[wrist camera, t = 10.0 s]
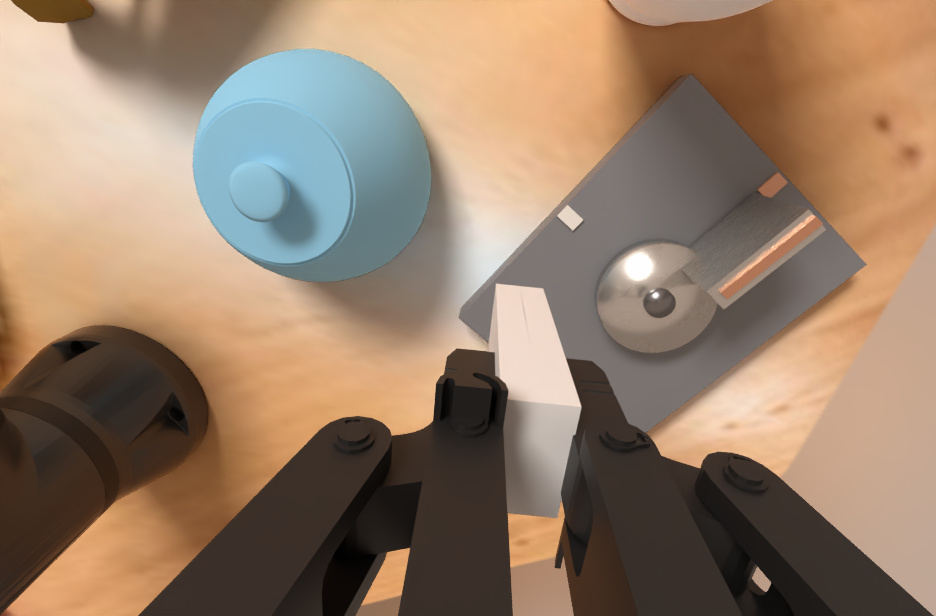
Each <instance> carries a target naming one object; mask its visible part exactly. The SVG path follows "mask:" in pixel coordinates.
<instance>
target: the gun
mask: <svg viewBox="0 0 936 616" xmlns="http://www.w3.org/2000/svg"><path fill="white" fill-rule="evenodd" d="M11 1H12V2H13V3H14V4H15V5H16V6H17V7H19V8H20V9H22V10H23V11H24V12H26V13H27V14H28V15H30V16H31V17H33V18H34V19H35V20H37V21H38V22H52V23H66V22H69V21H72V20H77V19H84V18H89V17H92V15H93V11H94V8H93V7H92V6H91V4H90V3H89V2H88V1H87V0H11Z"/></svg>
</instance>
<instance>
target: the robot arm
mask: <svg viewBox="0 0 936 616" xmlns="http://www.w3.org/2000/svg"><path fill="white" fill-rule="evenodd" d="M207 423H208V412H207V405H206V401H205V398H204V395H203V393H202V390H201V388H200V386H199V384H198V383H197V381H196V379H195V378H194V376H193V375H192V373H191V372H190V371H189V369H188V368H187V367H186V366H185V365H184V364H183V363H182V362H181V361H180V359H178V358H177V357H176V356H175V355H174V354H173V353H172V352H170V351H169V350H168V349H166V348H165V347H164V346H162V345H161V344H159V343H158V342H156V341H154V340H152V339H151V338H149V337H147V336H145V335H142V334H140V333H137V332H135V331H132V330H128V329H125V328H121V327H115V326H90V327H85V328H81V329H78V330H76V331H73V332H71V333H69V334H67V335H65V336H63V337H61V338H59V339H57V340H55V341H53V342H52V343H50V344H48V345H47V346H46V347H44V348H43V349H42V350H41V351H39V352H38V353H37V355H36V356H35V357H34V358H33V359H32V360H31V361H30V362H29V363H28V364H27V365H26V366H25V367H24V368H23V369H22V370H21V371H20V372H19V373H18V374H17V375H16V376H15V377H14V378H13V380H12V381H11V382H10V383H9V384H8V385H7V386H6V387H5V388H4V389H3V390H2V391H1V392H0V615H1V614H2V613H3V612H4V611H5V610H6V609H7V608H8V607H9V606H10V605H11V604H12V603H13V602H14V601H15V600H16V599H17V598H18V597H19V596H20V595H21V594H22V593H23V592H24V591H25V590H26V589H27V588H28V587H29V586H30V585H31V584H32V583H33V582H34V581H35V580H36V579H37V578H38V577H39V576H40V575H41V574H42V573H43V572H44V571H45V570H46V569H47V568H48V567H49V566H50V565H51V564H52V563H53V562H54V561H55V560H56V559H57V558H58V557H59V556H60V555H61V554H62V553H63V552H64V551H65V550H66V549H67V548H68V547H69V546H70V545H72V544H73V543H74V542H75V541H76V540H77V539H78V538H79V537H80V536H81V535H82V534H83V533H84V532H85V531H86V530H87V529H88V528H89V527H90V526H91V525H92V524H93V523H94V522H95V521H96V520H97V519H98V518H99V517H100V516H101V515H102V514H103V513H104V512H105V511H106V510H107V509H108V508H109V507H110V506H111V505H112V504H113V503H114V502H115V501H117V500H119V499H121V498H123V497H124V496H126V495H128V494H130V493H132V492H134V491H136V490H138V489H139V488H141V487H143V486H145V485H147V484H149V483H151V482H152V481H154V480H156V479H158V478H160V477H162V476H164V475H166V474H167V473H169V472H171V471H173V470H174V469H175V468H177V467H178V466H179V465H181V464H182V463H183V462H184V461H185V460H186V459H187V458H188V457H189V456H190V455H191V453H192V452H193V451H194V450H195V449H196V448H197V447H198V446H199V444H200V443H201V442H202V440H203V438H204V435H205V433H206V429H207ZM561 499H562V502H563V507H564V513H565V518H564V523H563V527H562V532H561V536H560V540H559V545H558V549H557V554H556V559H555V568H561V563H562V559H563V557H564V560H565V566H566V571H567V577H568V583H569V588H570V595H571V601H572V607H573V613H574V616H933V615H932V614H931V613H930V612H929V611H927V610H926V609H925V608H924V607H923V606H922V605H921V604H920V603H919V602H918V601H916V600H915V599H914V598H913V597H912V596H911V595H910V594H909V593H907V592H906V591H905V590H904V589H903V588H902V587H901V586H900V585H899V584H897V583H896V582H895V581H894V580H893V579H892V578H891V577H890V576H889V575H887V574H886V573H885V572H884V571H883V570H882V569H881V568H880V567H879V566H877V565H876V564H875V563H874V562H873V561H872V560H871V559H870V558H868V557H867V556H866V555H865V554H864V553H863V552H862V551H861V550H860V549H858V548H857V547H856V546H855V545H854V544H853V543H851V541H849V540H848V539H847V538H846V537H845V536H844V535H843V534H842V533H841V532H839V531H838V530H837V529H836V528H835V527H834V526H833V525H831V524H830V523H829V522H828V521H827V520H826V519H825V518H824V517H823V516H822V515H821V514H819V513H818V512H817V511H816V510H815V509H814V508H813V507H812V506H810V505H809V504H808V503H807V502H806V501H805V500H804V499H803V498H802V497H800V496H799V495H798V494H797V493H796V492H795V491H794V490H792V488H790V487H789V486H788V485H787V484H786V483H785V482H784V481H783V480H781V479H780V478H779V477H778V476H777V475H776V474H774V473H773V472H772V471H770V470H769V469H768V468H766V467H765V466H763V465H762V464H760V463H758V462H756V461H754V460H752V459H750V458H748V457H745V456H742V455H739V454H734V453H727V452H716V453H712V454H708V455H707V456H706V458H705V459H704V460H703V462H702V465H701V468H696V467H693V466H690V465H687V464H683V463H680V462H677V461H674V460H671V459H668V458H666V457H663V456H661V455H660V453H659V451H658V449H657V447H656V445H655V443H654V442H653V441H652V439H651V438H650V437H649V436H648V435H647V434H646V433H645V432H643V431H642V430H640V429H639V428H638V427H635V426H633V425H631V424H628V422H627V419H626V417H625V415H624V413H623V411H622V409H621V406H620V404H619V402H618V400H617V398H616V396H615V395H614V391H613V389H612V387H611V386H610V383H609V380H608V378H607V376H606V374H605V372H604V371H603V370H602V369H601V368H600V367H598V366H597V365H596V364H595V363H594V362H593V361H588V360H578V359H569V358H566V357H565V354H564V351H563V348H562V345H561V342H560V339H559V336H558V333H557V330H556V327H555V323H554V320H553V317H552V314H551V311H550V308H549V305H548V302H547V299H546V296H545V293H544V290H543V288H534V287H524V286H514V285H504V284H496V287H495V296H494V304H493V312H492V320H491V328H490V337H489V345H488V352H486V351H476V350H467V349H456V350H455V351H453V352H452V353H451V354H450V355H449V356H448V357H447V361H446V366H445V372H444V375H442V376H440V378H439V380H438V381H437V383H436V393H435V406H434V419H433V422H432V423H431V424H430V425H428V426H427V427H425V428H424V429H421V430H419V431H416V432H413V433H408V434H403V435H395V436H391V432H390V430H389V429H388V428H387V427H386V426H385V425H384V424H383V423H382V422H380V421H377V420H375V419H373V418H367V417H360V416H356V417H346V418H341V419H339V420H336V421H333V422H330V423H329V424H327V425H326V426H325V427H323V428H322V429H320V430H319V431H318V432H317V433H316V434H315V435H314V436H313V438H312V439H311V440H310V441H309V442H308V443H307V444H306V445H305V446H304V447H303V448H302V449H301V450H300V451H299V452H298V453H297V454H296V455H295V456H294V457H293V458H292V459H291V460H290V461H289V462H288V463H287V464H286V465H285V466H284V467H283V468H282V469H281V470H280V471H279V472H278V473H277V474H276V475H275V476H274V477H273V478H272V479H271V480H270V481H269V483H268V484H267V485H266V486H265V487H264V488H263V489H262V490H261V491H260V492H259V493H258V494H257V495H256V496H255V497H254V498H253V499H252V500H251V501H250V502H249V503H248V504H247V505H246V506H245V507H244V508H243V509H242V510H241V511H240V512H239V513H238V514H237V515H236V516H235V517H234V518H233V519H232V520H231V521H230V522H229V523H228V524H227V525H226V526H225V528H224V529H223V530H222V531H221V532H220V533H219V534H218V535H217V536H216V537H215V538H214V539H213V540H212V541H211V542H210V543H209V544H208V545H207V546H206V547H205V548H204V549H203V550H202V551H201V552H200V553H199V554H198V555H197V556H196V557H195V558H194V559H193V560H192V561H191V562H190V563H189V564H188V565H187V566H186V567H185V568H184V569H183V570H182V571H181V573H180V574H179V575H178V576H177V577H176V578H175V579H174V580H173V581H172V582H171V583H170V584H169V585H168V586H167V587H166V588H165V589H164V590H163V591H162V592H161V593H160V594H159V595H158V596H157V597H156V598H155V599H154V600H153V601H152V602H151V603H150V604H149V605H148V606H147V607H146V608H145V609H144V610H143V611H142V612H141V613H140V614H139V615H138V616H355V615H356V613H357V611H358V609H359V608H360V606H361V604H362V602H363V600H364V598H365V596H366V594H367V593H368V591H369V589H370V587H371V585H372V583H373V581H374V579H375V577H376V575H377V574H378V572H379V570H380V568H381V566H382V564H383V562H384V560H385V557H386V554H387V552H390V551H395V550H400V549H405V548H410V553H409V558H408V564H407V569H406V575H405V580H404V586H403V591H402V597H401V602H400V609H399V613H398V616H513V614H512V613H513V612H512V593H511V574H510V553H509V533H508V514H507V513H513V514H522V515H532V516H541V517H551V518H557V517H558V512H559V508H560V503H561ZM757 566H758V567H759V568H760V570H761V571H762V572H763V573H764V574H765V575H766V577H767V578H768V579H769V580H770V581H771V585H770V587H769V590H768V591H767V592H764V591H763V590H762V589H761V588H759V586H758V585H756V583H755V582H754V581H753V580H752V576H753V574H754V572H755V570H756V568H757Z"/></svg>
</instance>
